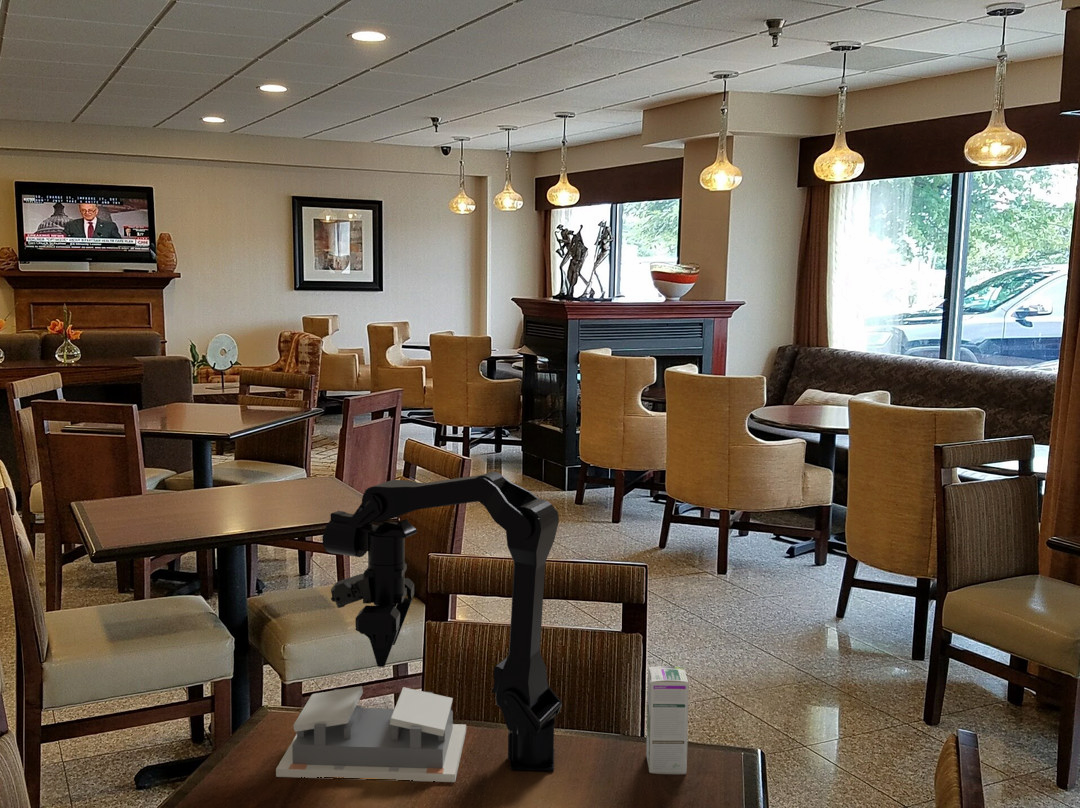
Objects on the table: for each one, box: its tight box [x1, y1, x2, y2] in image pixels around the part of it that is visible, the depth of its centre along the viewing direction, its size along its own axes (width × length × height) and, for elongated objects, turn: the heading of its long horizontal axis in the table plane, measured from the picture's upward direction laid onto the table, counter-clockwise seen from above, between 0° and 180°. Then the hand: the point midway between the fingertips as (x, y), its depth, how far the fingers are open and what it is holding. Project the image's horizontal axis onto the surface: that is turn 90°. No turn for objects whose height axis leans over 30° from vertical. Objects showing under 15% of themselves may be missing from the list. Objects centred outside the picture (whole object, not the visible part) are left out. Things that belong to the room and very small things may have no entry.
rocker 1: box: [293, 685, 364, 733], centre depth 150 cm, size 8×11×2 cm
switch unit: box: [275, 688, 467, 783], centre depth 150 cm, size 26×16×7 cm, turn 89°
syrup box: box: [645, 665, 689, 775], centre depth 147 cm, size 6×6×14 cm
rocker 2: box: [390, 686, 454, 736], centre depth 149 cm, size 8×11×2 cm
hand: (386, 655), depth 158 cm, fingers open, 9 cm apart
